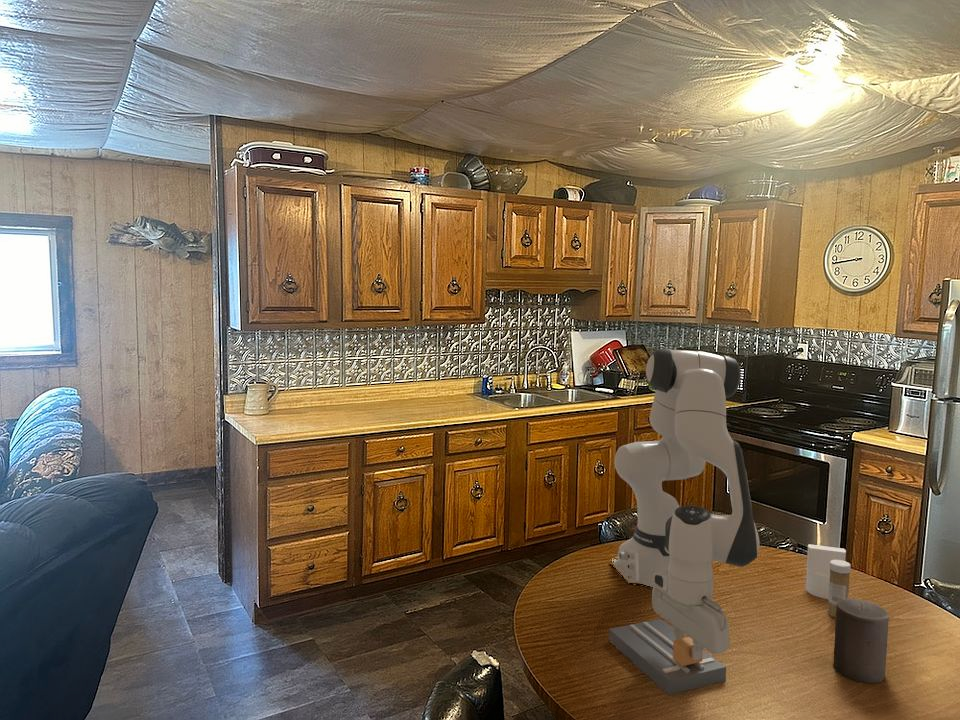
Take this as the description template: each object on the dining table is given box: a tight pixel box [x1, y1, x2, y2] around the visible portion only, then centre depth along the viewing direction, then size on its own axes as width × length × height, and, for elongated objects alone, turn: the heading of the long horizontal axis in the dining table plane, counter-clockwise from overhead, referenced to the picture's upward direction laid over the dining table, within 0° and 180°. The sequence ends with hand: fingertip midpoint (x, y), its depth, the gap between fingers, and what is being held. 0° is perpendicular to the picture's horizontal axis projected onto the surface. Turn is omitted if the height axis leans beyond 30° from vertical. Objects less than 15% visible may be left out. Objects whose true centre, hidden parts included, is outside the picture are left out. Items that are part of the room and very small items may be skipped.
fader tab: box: [673, 636, 704, 666], centre depth 138 cm, size 3×5×5 cm, turn 111°
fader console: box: [608, 618, 727, 696], centre depth 145 cm, size 22×14×4 cm, turn 21°
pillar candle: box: [832, 598, 890, 684], centre depth 141 cm, size 10×10×15 cm
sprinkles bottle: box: [827, 560, 852, 619], centre depth 166 cm, size 5×5×14 cm
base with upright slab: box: [805, 543, 847, 600], centre depth 179 cm, size 9×9×12 cm
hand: (687, 652), depth 138 cm, fingers closed on fader tab, 3 cm apart
